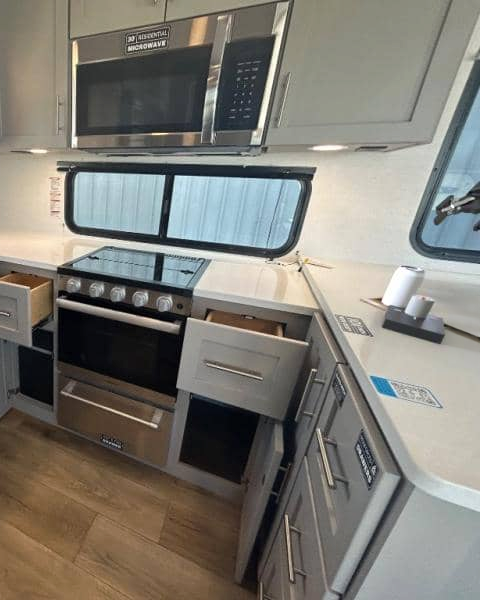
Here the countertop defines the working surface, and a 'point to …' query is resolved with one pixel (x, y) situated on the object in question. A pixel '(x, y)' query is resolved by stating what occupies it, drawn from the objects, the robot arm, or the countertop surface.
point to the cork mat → (375, 303)
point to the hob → (414, 324)
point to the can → (403, 286)
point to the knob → (419, 306)
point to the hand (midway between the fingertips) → (454, 226)
